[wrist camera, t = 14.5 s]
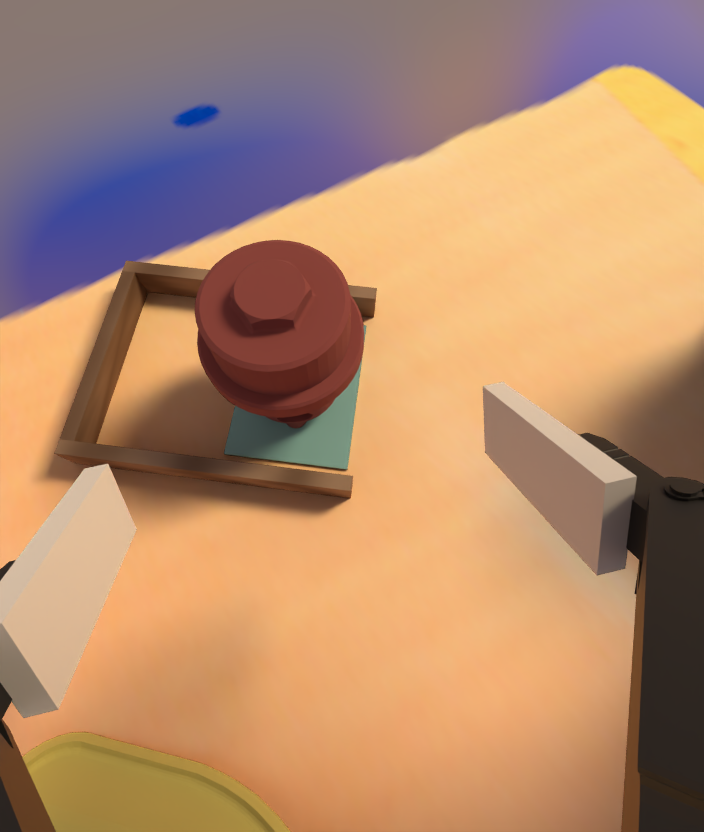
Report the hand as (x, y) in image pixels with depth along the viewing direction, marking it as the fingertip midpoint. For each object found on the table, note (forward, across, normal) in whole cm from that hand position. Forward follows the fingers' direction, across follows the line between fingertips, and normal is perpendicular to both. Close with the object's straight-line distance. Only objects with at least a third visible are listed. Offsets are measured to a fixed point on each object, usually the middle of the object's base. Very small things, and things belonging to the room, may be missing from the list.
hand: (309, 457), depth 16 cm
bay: (+20, -5, -3) cm, 21 cm away
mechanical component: (+19, 0, -4) cm, 20 cm away
